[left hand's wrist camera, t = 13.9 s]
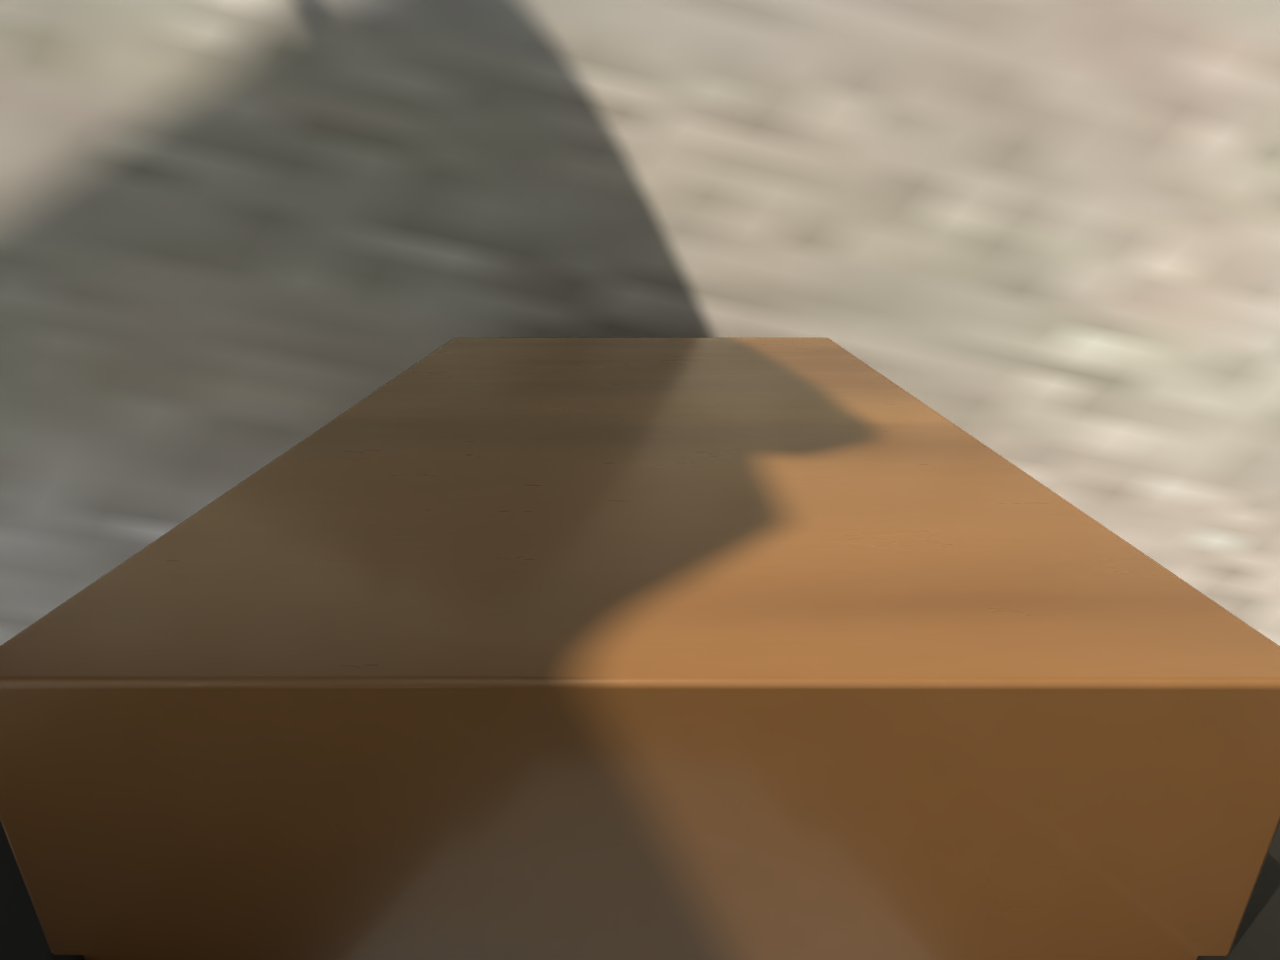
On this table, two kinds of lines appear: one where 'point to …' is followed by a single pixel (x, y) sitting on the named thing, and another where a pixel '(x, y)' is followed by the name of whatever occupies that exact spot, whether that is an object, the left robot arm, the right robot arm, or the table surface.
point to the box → (640, 690)
